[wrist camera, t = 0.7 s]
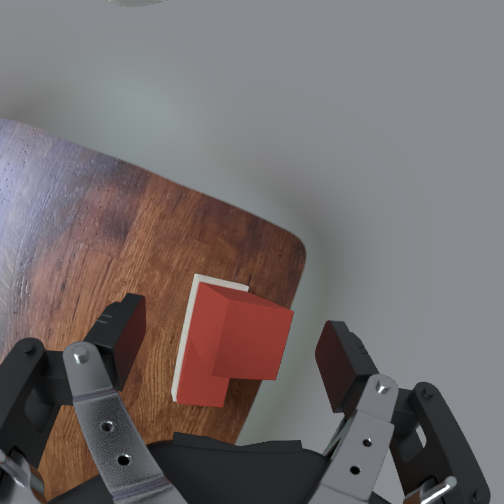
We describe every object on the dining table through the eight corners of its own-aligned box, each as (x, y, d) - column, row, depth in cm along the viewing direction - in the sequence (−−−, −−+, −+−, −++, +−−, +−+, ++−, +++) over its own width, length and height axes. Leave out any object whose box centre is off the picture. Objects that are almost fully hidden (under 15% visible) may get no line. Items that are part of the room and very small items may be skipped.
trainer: (194, 273, 26) (226, 290, 16) (242, 284, 28) (298, 304, 18) (170, 392, 25) (189, 459, 15) (215, 396, 27) (252, 458, 17)
